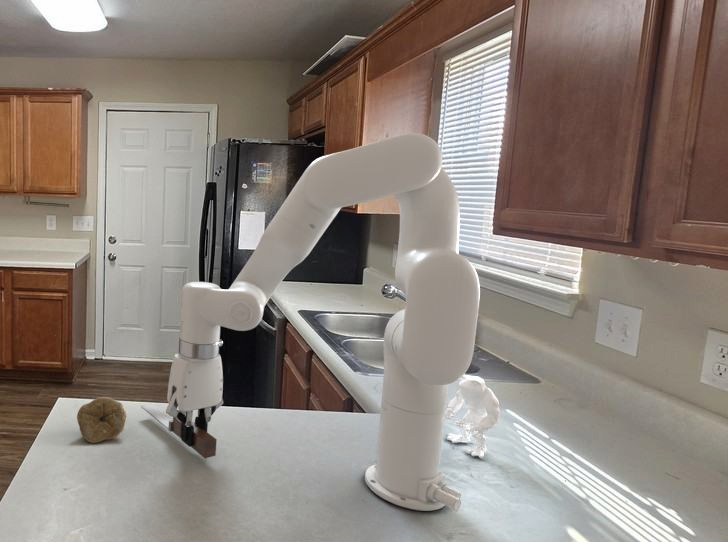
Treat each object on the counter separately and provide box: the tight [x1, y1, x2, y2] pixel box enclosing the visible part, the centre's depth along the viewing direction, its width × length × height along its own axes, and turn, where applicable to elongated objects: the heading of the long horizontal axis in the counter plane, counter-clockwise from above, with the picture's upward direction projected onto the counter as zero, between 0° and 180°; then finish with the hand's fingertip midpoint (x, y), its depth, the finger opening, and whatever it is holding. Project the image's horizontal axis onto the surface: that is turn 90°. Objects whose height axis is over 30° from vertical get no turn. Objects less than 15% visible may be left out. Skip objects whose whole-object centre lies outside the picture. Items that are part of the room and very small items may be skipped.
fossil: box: [76, 396, 127, 444], centre depth 102 cm, size 9×4×10 cm
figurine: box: [444, 373, 501, 460], centre depth 100 cm, size 11×7×15 cm, turn 7°
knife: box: [140, 403, 218, 459], centre depth 100 cm, size 23×3×3 cm, turn 30°
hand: (193, 440), depth 95 cm, fingers closed on knife, 2 cm apart
